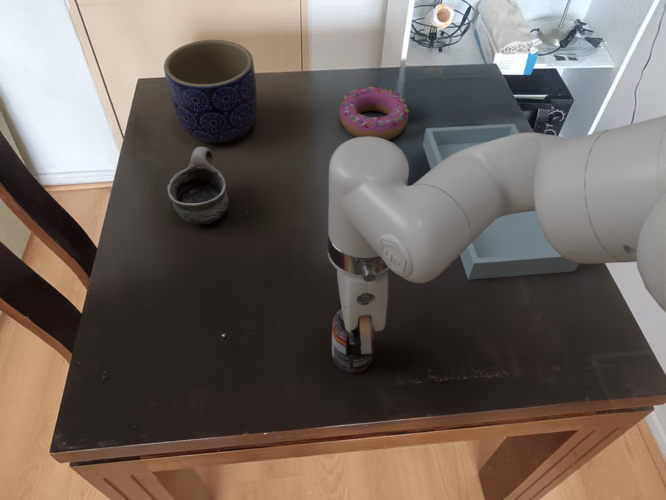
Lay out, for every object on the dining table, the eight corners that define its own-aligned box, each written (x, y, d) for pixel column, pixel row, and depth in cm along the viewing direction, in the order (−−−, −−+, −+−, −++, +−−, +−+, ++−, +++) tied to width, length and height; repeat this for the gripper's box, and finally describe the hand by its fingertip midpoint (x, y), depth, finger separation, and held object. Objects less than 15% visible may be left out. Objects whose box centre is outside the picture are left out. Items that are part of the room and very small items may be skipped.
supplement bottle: (354, 330, 80) (358, 285, 71) (381, 358, 77) (389, 314, 68) (323, 353, 78) (323, 308, 69) (350, 382, 75) (353, 340, 66)
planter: (240, 160, 104) (230, 94, 93) (164, 143, 107) (145, 76, 96) (272, 112, 115) (267, 47, 103) (202, 97, 118) (189, 32, 106)
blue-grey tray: (574, 271, 88) (584, 254, 85) (468, 280, 86) (473, 263, 83) (508, 140, 110) (514, 123, 106) (422, 145, 108) (425, 128, 105)
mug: (173, 235, 92) (159, 193, 84) (178, 185, 100) (166, 142, 92) (230, 231, 92) (222, 189, 85) (231, 182, 100) (223, 139, 93)
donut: (360, 153, 106) (361, 132, 103) (327, 114, 114) (327, 93, 111) (420, 133, 111) (424, 112, 107) (384, 97, 119) (386, 76, 115)
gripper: (412, 305, 53) (393, 387, 67) (382, 186, 64) (372, 277, 78) (336, 312, 53) (333, 393, 66) (320, 190, 64) (320, 281, 77)
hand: (354, 329), depth 72 cm, fingers closed on supplement bottle, 6 cm apart
